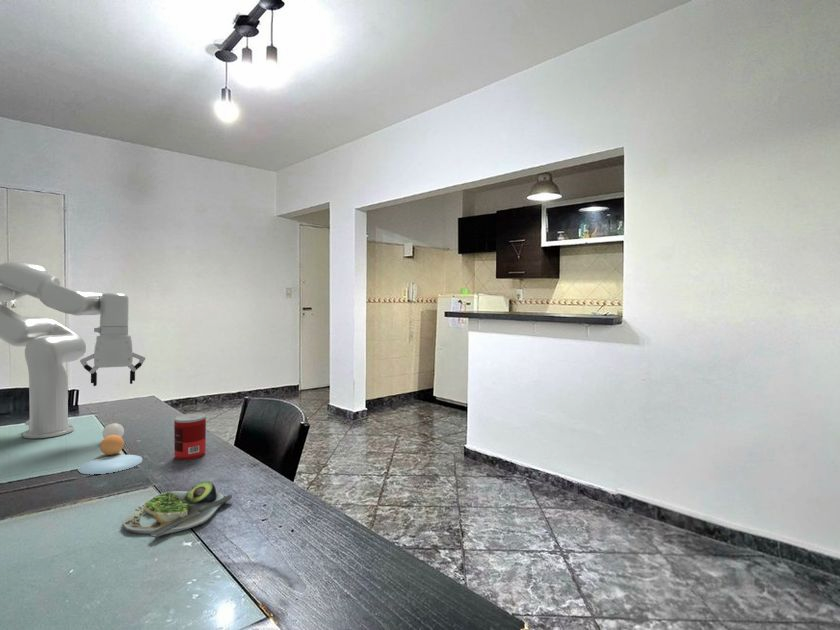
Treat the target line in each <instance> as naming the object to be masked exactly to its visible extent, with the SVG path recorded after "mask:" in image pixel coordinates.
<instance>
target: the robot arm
mask: <svg viewBox="0 0 840 630" xmlns="http://www.w3.org/2000/svg"><path fill="white" fill-rule="evenodd" d="M25 296H30V297H32V298H35V299H38V301H40V303H42V304H43V305H44V306H45V307H48V308H50V309H52V310H54V311H57V312H60V313H63V314H67V315H69V316H78V317H79V316H99V326H98V327H94V330H93V332H94V333H99V335H96V338H95V342H94V351H93V352H94V353H92V354H90V355H87V356H85V357H84V355H85V353H86V350H87V345H86V343H85V341H84V339H83V338H82V337H81V336H80V335H78V334H77V333H76V332H74V331H72V330H71V329H69V328H68V327H66V326H64V325H63V324H61V323H60V322H58V321H56V320H55V319H53V318H50V317H47V316H46V317H44V316H23V315H21V314H19V313H17V312H15V311H14V310H12V309H11V308H9V307H7V306H6V305H3V304H1V303H6V302H11V301H14V300H17V299H20V298H21V297H25ZM0 339H1V340H3V341H4V342H5V343H7V344H9V345H10V346H13V347H19V348H20V347H25V348H24V357H25V358H24V359H25V362H26V365H27V370H28V387H29V389H28V390H29V391H28V392H29V393H28V395H29V403H28V404H29V419H28V420H26V421H25V423H24V425H25V426H28V429H27V430H25V431H24V432H23V433H22V437H23V438H25V439H32V440H33V439H45V438H53V437H58V436H62V435H66V434H69V433H71V432H73V431H74V429H75V426H74V425H72V424H69V416H68V415H69V409H68V407H69V402H68V400H69V395H68V394H69V393H68V392H69V391H68V389H69V388H68V387H69V386H68V383H69V382H68V374H67V371H66V368H65V367H64V365H63V364H64V363H69V362H71V363H72V362H74V361H78V360H79V362H80V364H81V365H82V367H83V368H84V369H85V370H86V371H87V372H89V374H90V384H92V385H93V387H97V384H98V372H97V371H98V370H99V369H100V368H101V369H102V368H103V369H105V368H125V367H128V368H129V369H130V371H129V384H131V385H132V384H133V381H134V382H135V381H136V371H137V370H138V369H139V368H141V366H143V364H144V362H145V360H146V357H145V356H143V355H140V354H138V353H136V352H133V343H132V342H133V340H132V336H131V335H129V296H128V295H127V294H125V293H119V292H118V293H116V292H114V293H113V292H112V293H111V292H105V293H104V292H99V291H83V290H81V291H77V290H74V289H69V288H67V287H64V286H62V285H61V281H60V279H59V277H57V276H56V275H54V274H51V273H49V272H48V271H47V269H46V268H45V267H43V266H42V265H40V264H36V263H31V262H30V263H29V262H19V261H8V262H7V261H6V262H4V263H1V264H0ZM133 358H134V359H137V360H138V362H137V363H136V364H135V365H134V363H133ZM91 360H93V365H94V366H91V365H90V364H88V362H89V361H91Z"/></svg>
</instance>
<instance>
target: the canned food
mask: <svg viewBox="0 0 840 630" xmlns="http://www.w3.org/2000/svg"><path fill="white" fill-rule="evenodd" d="M173 422H174V430H173V431H174V433H173V434H174V435H173V436H174V438H173V439H174V445H173V446H174V457H175V459H176V460H179V459H180V460H179V461H187V460H189V459H190V460H193V459H198V458H200V457H203V456H204V455H205V453H206V450H207V449H206V448H207V447H206V446H207V445H206V440H207V439H206V434H207V432H206V429H207V427H206V426H207V423H206V422H207V421H206V414H204V413H196V412H195V413H187V414H185V413H184V414H181V415H178V416H176V417H174V421H173Z"/></svg>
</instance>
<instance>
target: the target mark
mask: <svg viewBox="0 0 840 630" xmlns="http://www.w3.org/2000/svg"><path fill="white" fill-rule="evenodd" d="M142 462H143V457H142V456H140V455H136V454H119V455H118V454H117V455H116V454H115V455H108V456H104V457H100V458H97V459H93V460H90V461H87V462H85V463H83V464H82V465H80V466H79V467H78V469H77V471H79V472H80V474H82V475H86V474H87V475H89V474H90V475H89V476H95V475H94V474H101V475H107V474H106V473H109V474H114V473H113V472H115V473H119V472H123V471H126V469H127V470H129V468H130V469H132V468H134V466H135V467H137V466H139V465H140V464H142ZM138 464H139V465H138ZM136 465H137V466H136ZM122 470H123V471H122ZM118 471H119V472H118ZM79 472H78V473H79ZM87 475H86V476H87Z"/></svg>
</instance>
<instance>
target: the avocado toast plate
mask: <svg viewBox="0 0 840 630" xmlns="http://www.w3.org/2000/svg"><path fill="white" fill-rule="evenodd" d="M232 498H233V494H228V495H224V494H223V492H222V493H221V492H220V491H217V490H216V486H215V485H214V484H213V482H210V481H202V482H199V483H196V484H195V485H193V486H192V489H190V490H189V491H183V490H179V491H178V490H176V491H175V490H174V491H167V492H162V493H158V494H156V495H153V496H151V497H149V498H147V499H146V500H144V501H143V502H142V503H140V504H139V506H137V507H136V508H135V509H134V510H133V511H131V512H129V514H127V516H125V517H124V518H123V520H122V524H121V526H122V527H123V528H124V529H125V530H127V531H128V532H131V533H132V534H133V533H134V534H137V533H138V534H139V535H149V536H150V537H152V538H157V537H160V536H163V535H169V533H170V534H174V533H177V532H180V531H181V532H182V531H186V530H188V529H191V528H196V527H198V526H200V525H203V524H204V523H205V522H207V521H208V520H209V519H210V518H211V517H212V516H213V515H214V514H215V513H216V512H217V511H218V510H219V508H221V507H222V506H223V505H225V504H226V503H227V502H228V501H230V500H231V499H232ZM146 514H149V515H150V516H153V518H154V519H155V521H156V522H157V525H152V526H151V525H150V526H142V525H141V524H140V520H141V519H142V517H143V516H144V515H146Z"/></svg>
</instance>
